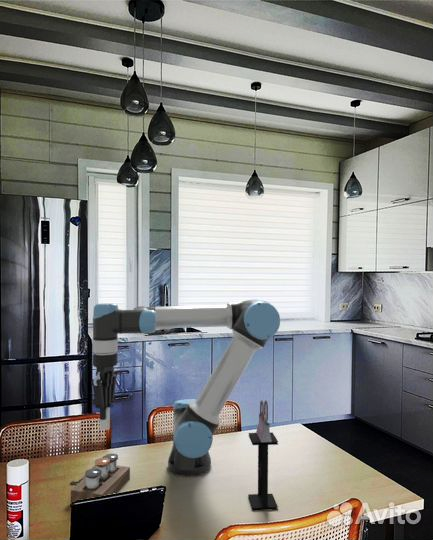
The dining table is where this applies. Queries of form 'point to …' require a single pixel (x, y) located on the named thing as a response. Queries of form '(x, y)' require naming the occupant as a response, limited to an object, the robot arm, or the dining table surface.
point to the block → (102, 485)
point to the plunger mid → (103, 468)
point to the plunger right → (112, 463)
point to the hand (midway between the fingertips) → (104, 428)
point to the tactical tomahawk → (81, 477)
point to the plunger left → (92, 479)
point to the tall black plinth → (263, 462)
